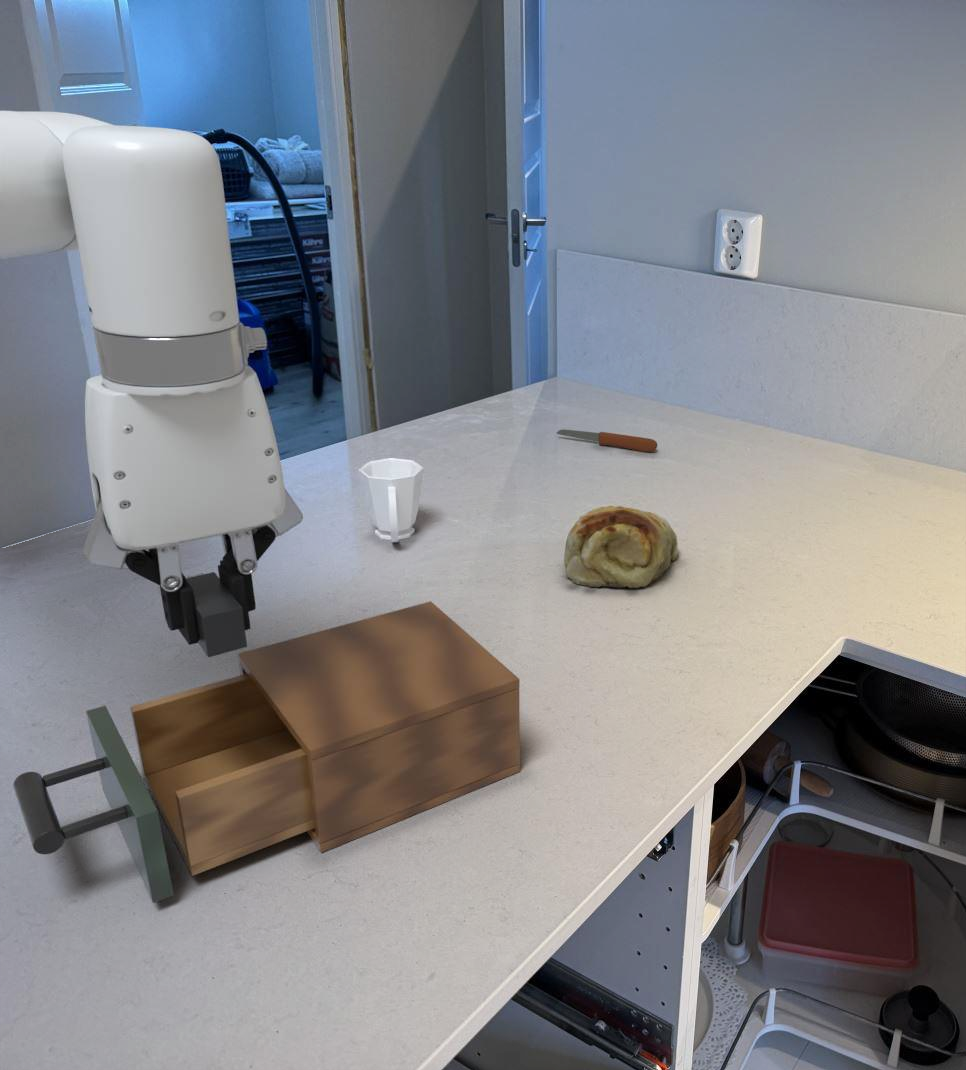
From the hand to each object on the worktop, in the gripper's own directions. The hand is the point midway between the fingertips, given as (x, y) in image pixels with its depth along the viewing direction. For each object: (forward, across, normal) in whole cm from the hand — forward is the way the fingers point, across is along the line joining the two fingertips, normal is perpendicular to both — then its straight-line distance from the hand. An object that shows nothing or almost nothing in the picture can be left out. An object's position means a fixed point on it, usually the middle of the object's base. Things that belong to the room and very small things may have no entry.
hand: (213, 626), depth 65 cm
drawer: (+14, +3, 0) cm, 14 cm away
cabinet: (+15, -11, 0) cm, 18 cm away
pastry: (+15, -47, -17) cm, 52 cm away
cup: (+15, -29, -37) cm, 50 cm away
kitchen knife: (+15, -69, -52) cm, 88 cm away
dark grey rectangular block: (0, 0, -2) cm, 2 cm away
